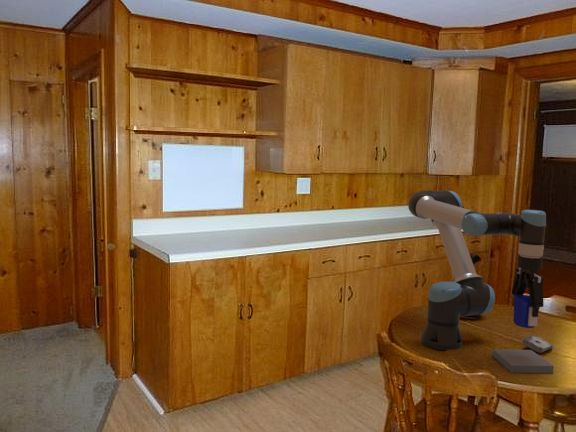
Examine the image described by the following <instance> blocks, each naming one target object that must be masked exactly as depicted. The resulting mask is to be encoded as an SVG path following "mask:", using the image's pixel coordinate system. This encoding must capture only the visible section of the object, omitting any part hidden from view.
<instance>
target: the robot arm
mask: <svg viewBox="0 0 576 432" xmlns="http://www.w3.org/2000/svg"><path fill="white" fill-rule="evenodd" d="M407 202H408V203H407V205H408V206H407V207H408V208H407V209H408V210H409V212H410V214H411V215H413V216H414V217H416V218H419V219H421V220H427V219H429V220H431V223H432V225H433V227H434V226H435V227H436V228H437V230H438V232H439V236H440V238H441V241H442V245H443V248H444V251H445V254H446V257H447V260H448V263H449V267H450V269H451V273H452V275H453V279H454V281H440V282H439V281H438V282H435V283H433V284H431V285H430V286H429V289H428V295H427V299H428V304H427V319H426V324H425V327H424V329H423V332H422V333H421V344H423V345H424V346H425V347H428V348H430V349H434V350H437V351H444V352H446V351H447V350H449V351H451V350H452V351H453V350H457V349H461V348H462V347H463V343H464V342H463V341H464V340H463V336H462V334H461V330H460V317H459V316H468V315H479V316H480V315H485V314H488V313H489V312H491V311H492V310H493V308H494V305H495V303H496V295H495V291H494V288H493V287H492V286H491V285H490V284H487V283H485V282H484V280H483V279H484V278H483V277H482V276H481V275H479V274H478V273H477V272H476V271H477V270H476V269H475V266H474V265H473V263H472V260H471V257H470V254H471V253H470V252H469V248H468V246H467V243H466V240H465V237H464V235H463V232H464V233H465V234H466V235H468V236H475V237H479V236H500V235H501V236H502V235H505V236H506V235H507V236H514V237H519V238H518V240H519V241H518V251H517V254H518V255H517V263H516V266H518V267H516V268H515V270H514V271H515V275H514V279H513V283H512V287H511V288H512V289H511V294H512V295H513V297H514V296H515V295H525V291H526V289H527V288H528V294H529V295H528V296H530V301H531V305H529V317H528V326H535V327H537V326H538V319H539V312H538V310H539V311H540V308H543V307H544V306H545V305H544V287H543V286H544V276H539V273H538V272H539V270H542V268H543V259H544V258H543V256H544V249H545V246H544V244H545V236H546V228H547V214H546V212H545V211H543V210H538V209H524V210H522V211H521V214H518V213H513V212H508V211H507V212H501V211H500V212H497V213H483V212H478V211H475V210H471V209H468V208H464V207H463V203H462V199H461V197H460V196H459V194H458V193H456V192H455V191H452V190H447V189H443V190H442V189H441V190H425V189H424V190H418V191H416V192H414V193H413V194H412V195H411V196H410V197H409V199H408V201H407ZM462 231H463V232H462ZM469 253H470V254H469ZM539 307H540V308H539Z"/></svg>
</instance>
